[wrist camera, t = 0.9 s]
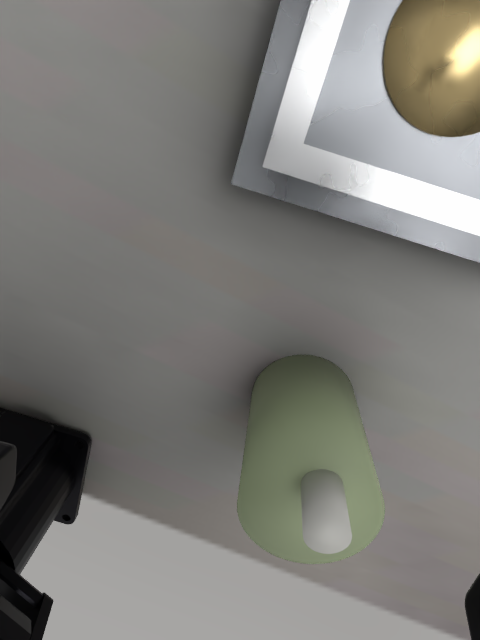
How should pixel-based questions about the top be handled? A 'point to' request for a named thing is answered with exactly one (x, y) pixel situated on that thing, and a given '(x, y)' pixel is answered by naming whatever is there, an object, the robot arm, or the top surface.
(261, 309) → the top surface
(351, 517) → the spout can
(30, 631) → the robot arm
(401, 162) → the grey square holder
